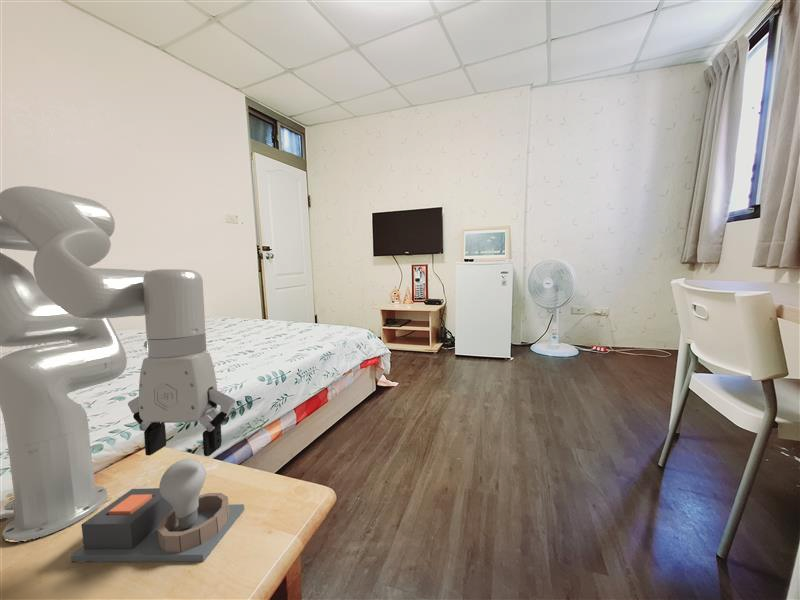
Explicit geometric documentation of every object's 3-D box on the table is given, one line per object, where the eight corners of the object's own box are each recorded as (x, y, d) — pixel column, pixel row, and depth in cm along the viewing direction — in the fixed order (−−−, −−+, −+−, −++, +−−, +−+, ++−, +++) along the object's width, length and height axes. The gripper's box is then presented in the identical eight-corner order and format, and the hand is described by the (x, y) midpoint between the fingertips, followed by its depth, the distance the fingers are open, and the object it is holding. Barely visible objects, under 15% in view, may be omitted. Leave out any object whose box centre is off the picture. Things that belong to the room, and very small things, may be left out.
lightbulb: (188, 544, 45) (179, 474, 44) (155, 541, 46) (146, 472, 45) (219, 513, 51) (212, 451, 50) (190, 511, 52) (182, 450, 51)
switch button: (110, 535, 47) (108, 511, 47) (133, 517, 51) (131, 494, 51) (133, 535, 47) (130, 511, 47) (154, 516, 51) (152, 494, 50)
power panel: (71, 562, 44) (67, 529, 44) (135, 511, 54) (132, 485, 54) (203, 561, 43) (200, 528, 43) (244, 509, 53) (241, 482, 53)
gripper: (102, 352, 44) (110, 464, 45) (213, 351, 43) (219, 466, 44) (148, 343, 51) (155, 438, 52) (244, 341, 50) (248, 439, 51)
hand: (184, 451), depth 48 cm, fingers open, 9 cm apart
